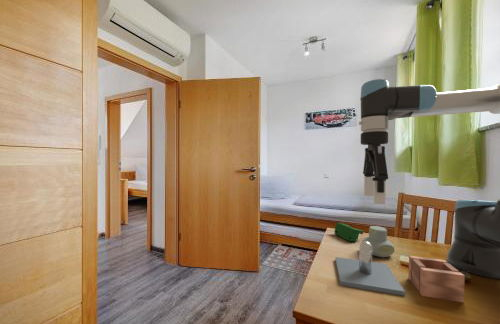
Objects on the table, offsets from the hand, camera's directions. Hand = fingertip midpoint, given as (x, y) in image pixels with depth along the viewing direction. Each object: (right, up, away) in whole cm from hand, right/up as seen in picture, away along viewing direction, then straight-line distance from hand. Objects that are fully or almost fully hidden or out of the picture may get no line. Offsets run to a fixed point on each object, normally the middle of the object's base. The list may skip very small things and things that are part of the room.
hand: (373, 199), depth 69 cm
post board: (-3, -24, 0) cm, 24 cm away
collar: (+13, -24, -7) cm, 28 cm away
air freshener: (+10, -24, +15) cm, 30 cm away
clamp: (+7, -23, +32) cm, 40 cm away
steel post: (-3, -22, 0) cm, 23 cm away
